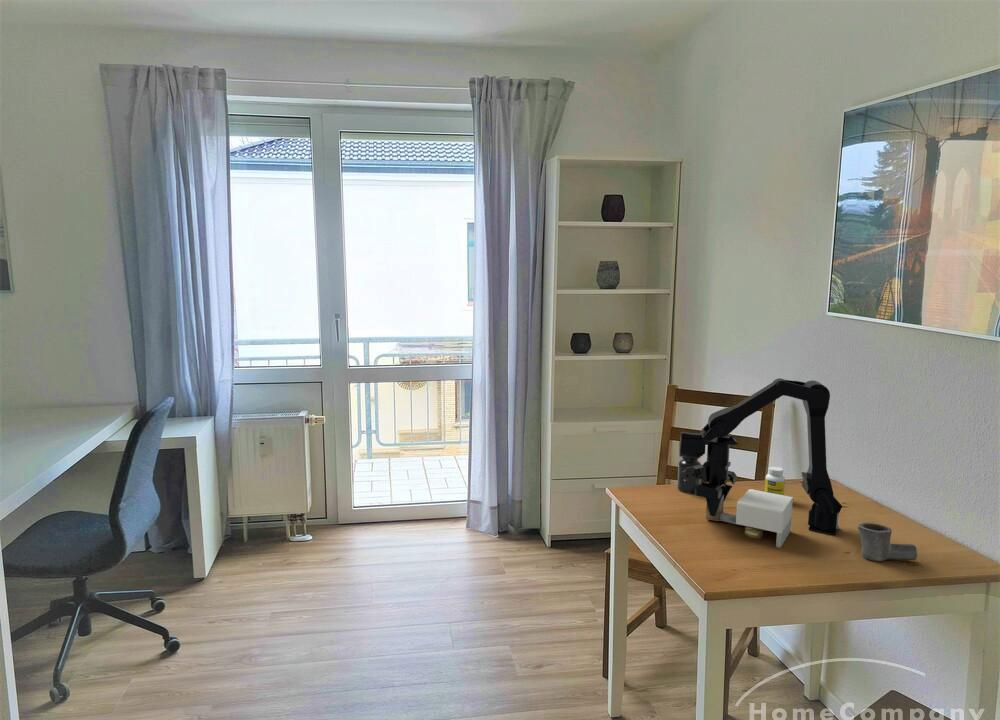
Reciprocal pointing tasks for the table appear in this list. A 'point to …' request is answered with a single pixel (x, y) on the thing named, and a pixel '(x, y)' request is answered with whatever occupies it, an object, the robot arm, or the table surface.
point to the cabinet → (766, 513)
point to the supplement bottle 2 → (775, 481)
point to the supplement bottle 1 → (682, 481)
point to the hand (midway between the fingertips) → (714, 513)
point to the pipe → (883, 544)
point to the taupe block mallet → (721, 515)
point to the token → (753, 532)
